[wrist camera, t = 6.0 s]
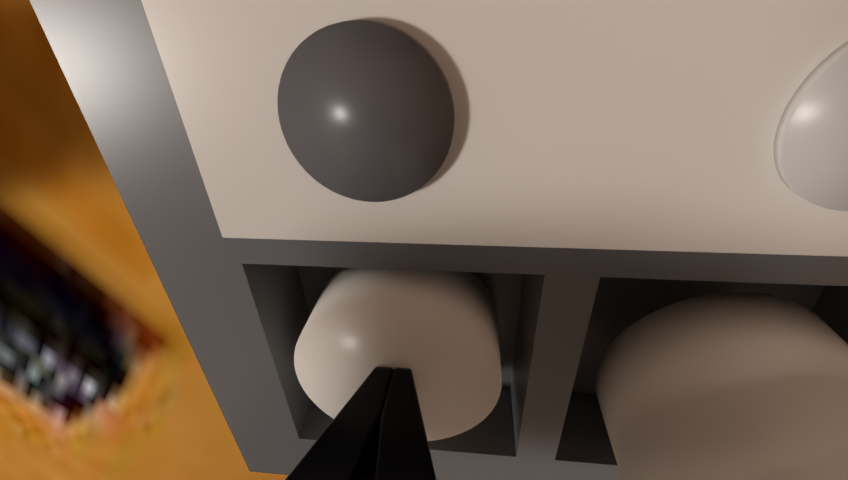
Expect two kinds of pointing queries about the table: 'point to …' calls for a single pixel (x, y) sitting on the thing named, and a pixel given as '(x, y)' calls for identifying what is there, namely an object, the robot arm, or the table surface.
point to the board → (467, 181)
